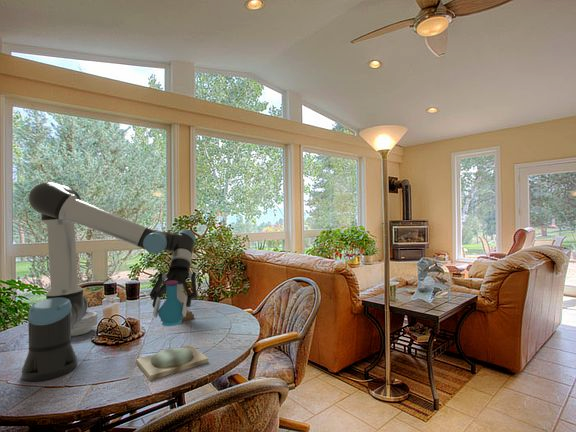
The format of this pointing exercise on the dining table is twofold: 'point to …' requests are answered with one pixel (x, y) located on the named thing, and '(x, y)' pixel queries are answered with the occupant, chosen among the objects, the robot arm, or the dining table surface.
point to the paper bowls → (84, 324)
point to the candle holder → (181, 298)
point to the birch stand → (171, 361)
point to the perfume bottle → (171, 306)
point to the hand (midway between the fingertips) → (169, 315)
